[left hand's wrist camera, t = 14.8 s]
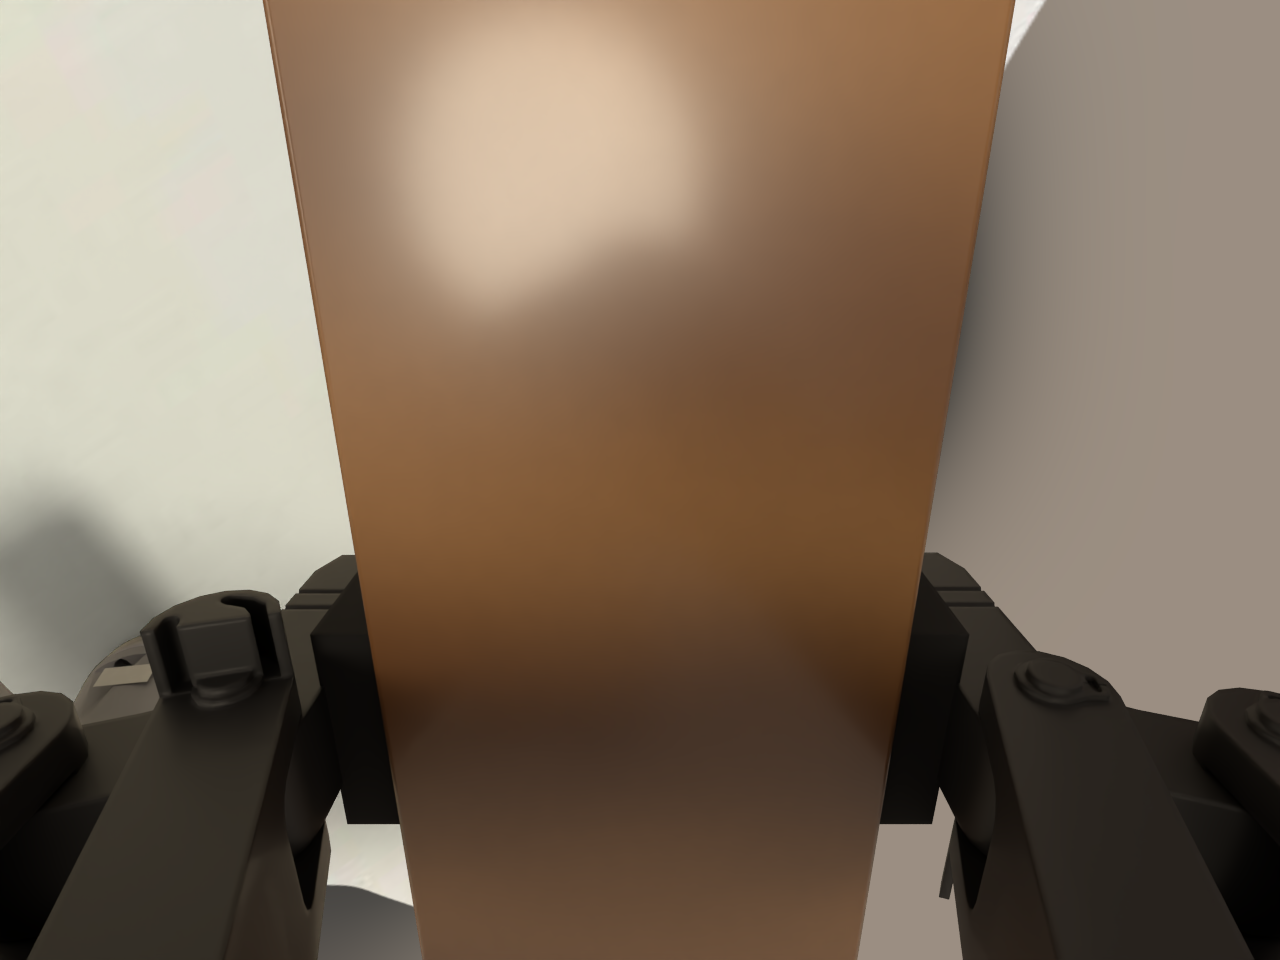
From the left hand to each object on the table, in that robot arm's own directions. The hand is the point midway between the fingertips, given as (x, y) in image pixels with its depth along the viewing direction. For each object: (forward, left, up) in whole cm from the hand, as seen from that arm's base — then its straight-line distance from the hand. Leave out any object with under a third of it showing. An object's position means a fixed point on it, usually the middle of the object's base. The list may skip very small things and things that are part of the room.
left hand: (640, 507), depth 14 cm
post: (+21, +9, -1) cm, 23 cm away
